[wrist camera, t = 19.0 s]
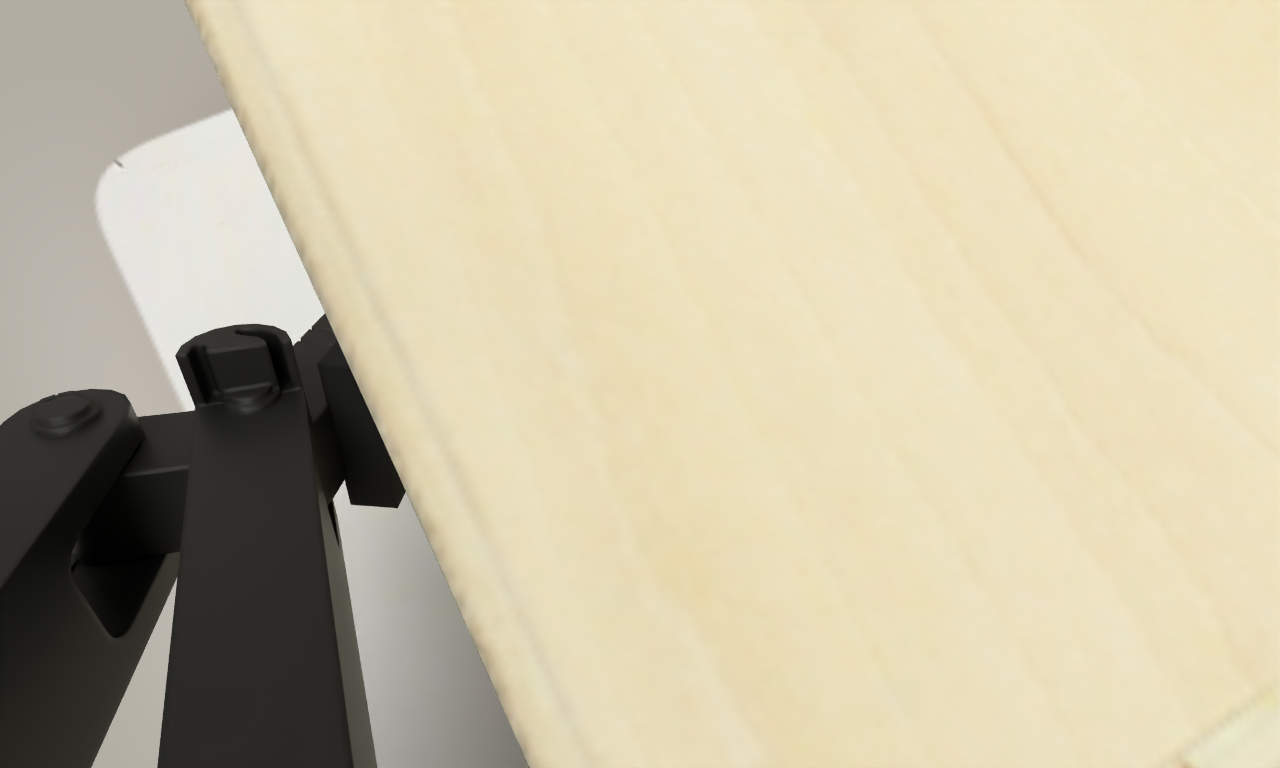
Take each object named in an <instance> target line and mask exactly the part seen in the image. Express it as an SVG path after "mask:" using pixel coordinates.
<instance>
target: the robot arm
mask: <svg viewBox="0 0 1280 768" xmlns="http://www.w3.org/2000/svg"><path fill="white" fill-rule="evenodd" d="M175 356H176V359H177V361H178V364H179V367H180V369H181V372H182V374H183V377H184V379H185V382H186V384H187V387H188V390H189V392H190V395H191V397H192V400H193V402H194V405H195V411H188V412H180V413H171V414H162V415H152V416H143V417H137V416H136V414H135V412H134V409H133V407H132V405H131V403H130V401H129V400H128V399H127V397H126V396H125V395H124V394H121V393H119V392H116V391H113V390H102V389H88V390H80V391H68V392H63V393H59V394H58V395H56V396H55V395H52V396H49V397H46V398H43V399H41V400H40V401H38V402H36V403H34V404H31V405H29V406H27V407H25V408H23V409H21V410H19V411H18V412H17V413H15V414H14V415H12V416H11V417H10V418H8V419H7V420H6V421H5V422H3V423H2V425H0V768H91V767H92V764H93V762H94V760H95V758H96V756H97V753H98V751H99V749H100V747H101V744H102V742H103V740H104V738H105V736H106V733H107V731H108V729H109V727H110V725H111V722H112V720H113V718H114V716H115V714H116V711H117V709H118V707H119V705H120V702H121V700H122V698H123V696H124V694H125V691H126V689H127V687H128V685H129V683H130V680H131V678H132V676H133V673H134V671H135V669H136V667H137V665H138V663H139V660H140V658H141V656H142V654H143V651H144V649H145V647H146V645H147V643H148V640H149V638H150V636H151V634H152V632H153V629H154V627H155V625H156V623H157V621H158V618H159V616H160V614H161V612H162V609H163V607H164V605H165V603H166V600H167V598H168V596H169V594H170V592H171V589H172V587H173V585H174V583H175V581H176V578H177V588H176V596H175V606H174V615H173V625H172V634H171V644H170V654H169V663H168V673H167V682H166V692H165V701H164V711H163V720H162V730H161V739H160V748H159V758H158V767H157V768H377V762H376V756H375V750H374V744H373V737H372V731H371V725H370V719H369V712H368V706H367V700H366V694H365V687H364V681H363V675H362V669H361V662H360V656H359V650H358V644H357V637H356V631H355V625H354V619H353V612H352V606H351V600H350V594H349V587H348V581H347V575H346V569H345V562H344V556H343V550H342V544H341V537H340V531H339V525H338V519H337V514H336V510H335V506H334V502H333V498H334V496H335V494H336V493H337V491H338V489H339V488H340V486H341V484H342V483H343V481H344V480H345V482H346V486H347V491H348V495H349V499H350V503H351V505H363V506H377V507H390V508H398V506H399V504H400V502H401V500H402V498H403V496H404V494H405V492H406V490H405V488H404V486H403V484H402V481H401V479H400V477H399V475H398V473H397V470H396V468H395V466H394V464H393V462H392V459H391V457H390V455H389V453H388V451H387V448H386V446H385V444H384V442H383V439H382V437H381V435H380V433H379V431H378V428H377V426H376V424H375V422H374V420H373V417H372V415H371V413H370V411H369V409H368V406H367V404H366V402H365V400H364V398H363V395H362V393H361V391H360V389H359V387H358V384H357V382H356V380H355V378H354V375H353V373H352V371H351V369H350V367H349V364H348V362H347V360H346V358H345V356H344V353H343V351H342V349H341V347H340V345H339V342H338V340H337V338H336V336H335V334H334V331H333V329H332V327H331V325H330V322H329V320H328V318H327V316H326V314H324V315H323V316H322V317H321V318H320V319H319V320H318V321H317V322H316V323H315V324H314V325H313V326H312V330H310V329H309V330H308V331H307V332H306V333H305V334H304V335H303V336H302V337H301V341H298V342H297V343H296V344H295V345H294V346H293V345H292V341H291V339H290V337H289V336H288V334H287V332H286V331H283V330H281V329H279V328H277V327H274V326H268V325H261V324H244V325H233V326H228V327H223V328H218V329H214V330H211V331H208V332H206V333H203V334H201V335H198V336H195V337H194V338H192V339H191V340H189V341H188V342H186V343H185V344H183V345H182V346H181V347H180V349H179V351H178V352H177V354H176V355H175ZM177 576H178V577H177Z"/></svg>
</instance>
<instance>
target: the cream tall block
mask: <svg viewBox="0 0 1280 768" xmlns="http://www.w3.org/2000/svg"><path fill="white" fill-rule="evenodd" d="M184 2H185V4H186V6H187V8H188V10H189V12H190V15H191V17H192V19H193V22H194V24H195V26H196V28H197V30H198V33H199V35H200V37H201V39H202V42H203V44H204V46H205V48H206V51H207V53H208V55H209V57H210V59H211V61H212V64H213V66H214V68H215V70H216V73H217V75H218V77H219V79H220V82H221V84H222V86H223V88H224V90H225V93H226V95H227V97H228V99H229V102H230V104H231V106H232V108H233V110H234V113H235V115H236V117H237V119H238V122H239V124H240V126H241V128H242V130H243V133H244V135H245V137H246V139H247V141H248V144H249V146H250V148H251V150H252V153H253V155H254V157H255V159H256V161H257V164H258V166H259V168H260V170H261V172H262V175H263V177H264V179H265V181H266V183H267V186H268V188H269V190H270V192H271V194H272V197H273V199H274V201H275V203H276V206H277V208H278V210H279V212H280V214H281V217H282V219H283V221H284V223H285V225H286V228H287V230H288V232H289V234H290V236H291V239H292V241H293V243H294V245H295V247H296V250H297V252H298V254H299V256H300V258H301V261H302V263H303V265H304V267H305V270H306V272H307V274H308V276H309V278H310V281H311V283H312V285H313V287H314V289H315V292H316V294H317V296H318V298H319V300H320V303H321V305H322V307H323V309H324V311H325V314H326V316H327V318H328V320H329V322H330V325H331V327H332V329H333V331H334V334H335V336H336V338H337V340H338V342H339V345H340V347H341V349H342V351H343V353H344V356H345V358H346V360H347V362H348V364H349V367H350V369H351V371H352V373H353V375H354V378H355V380H356V382H357V384H358V387H359V389H360V391H361V393H362V395H363V398H364V400H365V402H366V404H367V406H368V409H369V411H370V413H371V415H372V417H373V420H374V422H375V424H376V426H377V428H378V431H379V433H380V435H381V437H382V439H383V442H384V444H385V446H386V448H387V451H388V453H389V455H390V457H391V459H392V462H393V464H394V466H395V468H396V470H397V473H398V475H399V477H400V479H401V481H402V484H403V486H404V488H405V490H406V492H407V495H408V497H409V499H410V501H411V504H412V506H413V508H414V510H415V512H416V515H417V517H418V519H419V521H420V523H421V526H422V528H423V530H424V532H425V534H426V537H427V539H428V541H429V543H430V545H431V548H432V550H433V552H434V554H435V556H436V559H437V561H438V563H439V565H440V568H441V570H442V572H443V574H444V577H445V579H446V581H447V583H448V586H449V588H450V590H451V592H452V595H453V597H454V599H455V601H456V604H457V606H458V608H459V610H460V613H461V615H462V617H463V619H464V622H465V624H466V626H467V628H468V631H469V633H470V635H471V638H472V640H473V642H474V644H475V647H476V649H477V651H478V653H479V656H480V658H481V660H482V662H483V665H484V667H485V669H486V671H487V674H488V676H489V678H490V680H491V683H492V685H493V687H494V689H495V692H496V694H497V696H498V698H499V701H500V703H501V705H502V707H503V710H504V712H505V714H506V716H507V719H508V721H509V723H510V725H511V728H512V730H513V732H514V734H515V737H516V739H517V741H518V743H519V746H520V748H521V750H522V753H523V755H524V757H525V759H526V762H527V764H528V766H529V768H1280V0H184Z"/></svg>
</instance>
